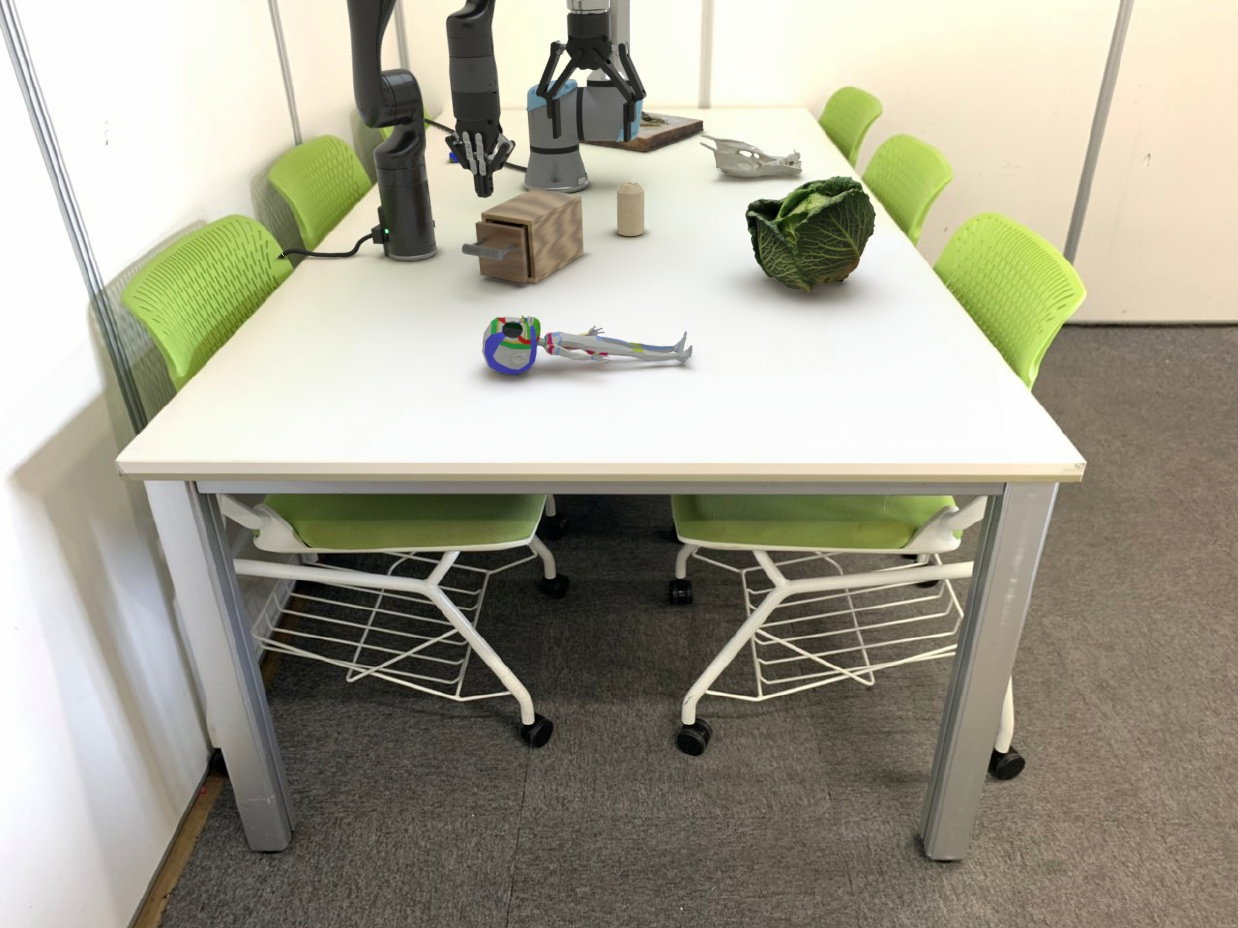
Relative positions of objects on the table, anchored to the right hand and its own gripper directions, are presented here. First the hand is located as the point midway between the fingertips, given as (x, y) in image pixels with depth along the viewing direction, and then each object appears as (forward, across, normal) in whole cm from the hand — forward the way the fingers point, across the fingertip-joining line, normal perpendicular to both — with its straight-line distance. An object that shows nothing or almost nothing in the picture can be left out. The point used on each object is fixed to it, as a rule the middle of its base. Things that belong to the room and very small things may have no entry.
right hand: (592, 139), depth 166 cm
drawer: (+20, -9, -18) cm, 28 cm away
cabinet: (+21, -8, -12) cm, 25 cm away
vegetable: (+21, +42, -10) cm, 48 cm away
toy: (+21, +14, -51) cm, 57 cm away
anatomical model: (+20, +22, +60) cm, 67 cm away
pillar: (+20, -58, +66) cm, 90 cm away
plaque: (+20, -18, +96) cm, 100 cm away
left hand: (+4, -11, -26) cm, 28 cm away
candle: (+20, +4, +10) cm, 23 cm away
